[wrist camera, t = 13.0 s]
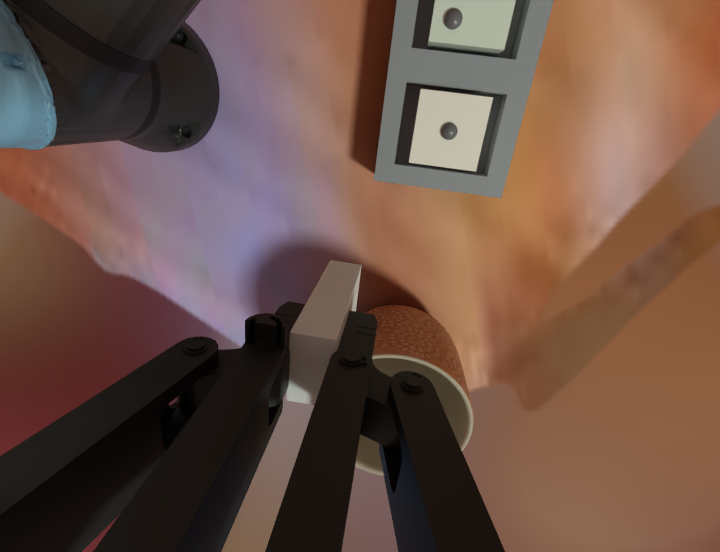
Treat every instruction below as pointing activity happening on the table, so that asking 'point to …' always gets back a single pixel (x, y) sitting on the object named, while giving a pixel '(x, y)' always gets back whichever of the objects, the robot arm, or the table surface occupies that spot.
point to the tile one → (449, 129)
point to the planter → (418, 369)
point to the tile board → (457, 75)
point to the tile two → (470, 26)
